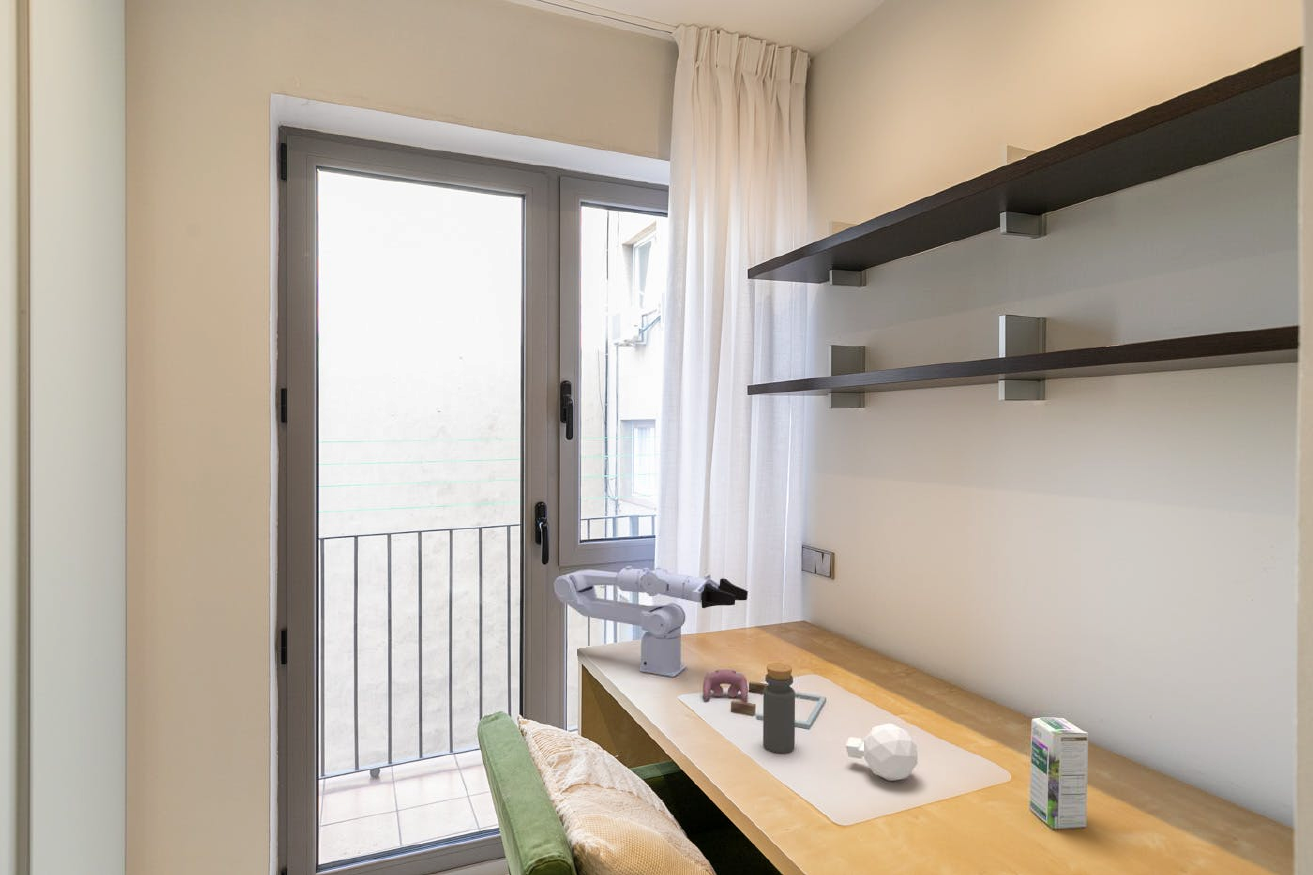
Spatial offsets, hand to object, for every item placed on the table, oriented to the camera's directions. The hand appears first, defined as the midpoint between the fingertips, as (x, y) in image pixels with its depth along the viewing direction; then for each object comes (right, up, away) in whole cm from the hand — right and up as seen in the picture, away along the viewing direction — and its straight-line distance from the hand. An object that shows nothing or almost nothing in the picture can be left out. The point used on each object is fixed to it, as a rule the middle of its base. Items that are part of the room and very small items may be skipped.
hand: (741, 597), depth 161 cm
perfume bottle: (+20, -21, -41) cm, 50 cm away
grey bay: (+9, -20, -14) cm, 26 cm away
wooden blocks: (+1, -20, -10) cm, 23 cm away
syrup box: (+42, -21, -55) cm, 72 cm away
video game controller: (-4, -21, -8) cm, 22 cm away
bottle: (+3, -21, -31) cm, 37 cm away
